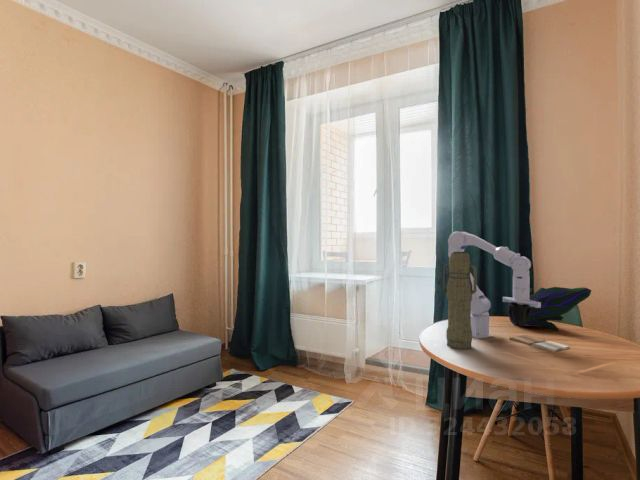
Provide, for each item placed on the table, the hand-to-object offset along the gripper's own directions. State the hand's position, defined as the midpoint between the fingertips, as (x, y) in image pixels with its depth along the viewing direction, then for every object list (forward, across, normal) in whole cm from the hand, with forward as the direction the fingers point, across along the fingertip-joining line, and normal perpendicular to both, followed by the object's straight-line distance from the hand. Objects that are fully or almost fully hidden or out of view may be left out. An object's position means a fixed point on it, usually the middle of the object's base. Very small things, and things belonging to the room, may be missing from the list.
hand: (520, 323), depth 143 cm
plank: (+7, -1, -3) cm, 8 cm away
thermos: (+8, +7, +25) cm, 27 cm away
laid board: (+7, -10, -3) cm, 12 cm away
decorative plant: (+8, +12, -32) cm, 35 cm away
